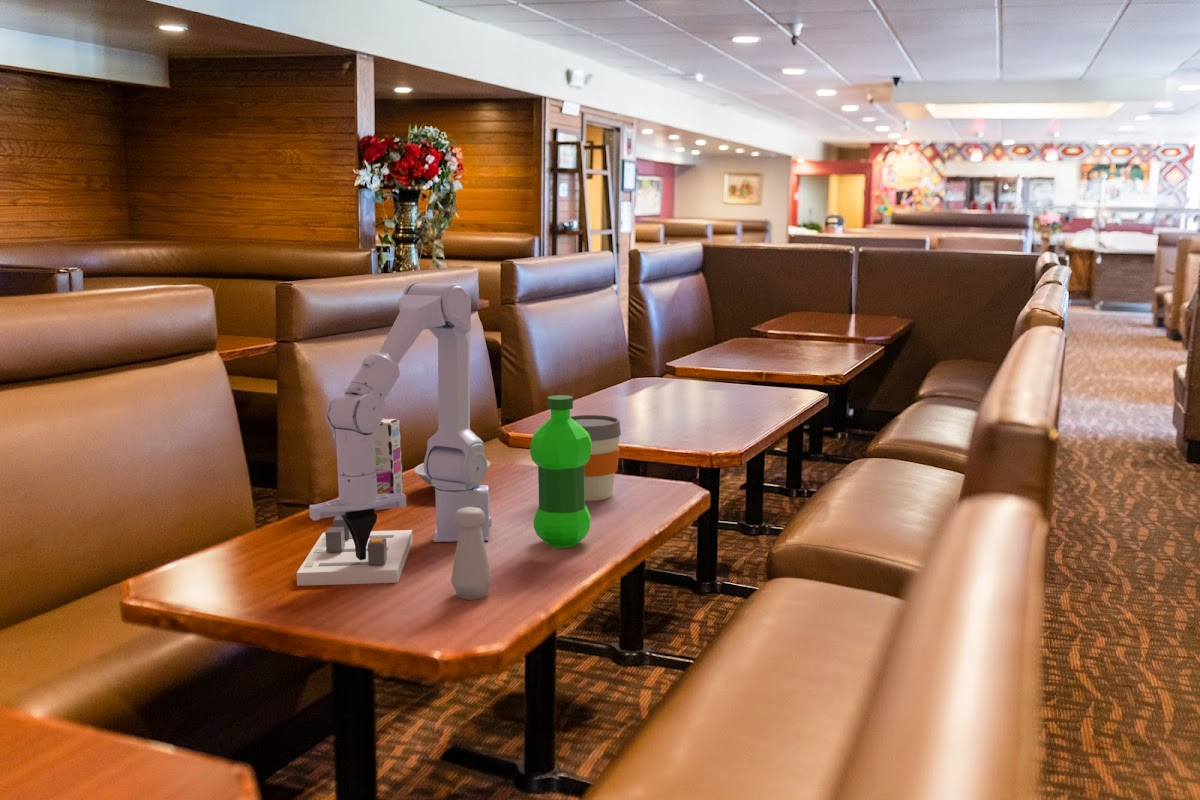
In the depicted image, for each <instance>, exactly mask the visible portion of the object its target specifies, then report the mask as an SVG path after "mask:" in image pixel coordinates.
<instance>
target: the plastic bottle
mask: <svg viewBox="0 0 1200 800" xmlns="http://www.w3.org/2000/svg"><path fill="white" fill-rule="evenodd" d="M573 409H574V396H571V395H564V394H559V395H550V396H547V410H550V416H551V417H550V418H549V419H548V420H546V422H544V423H543V424H542V425H541V426H540V427H539V428H538V429H536V430H535V432H534V433H533V435H532V438H531V441H530V444H529V452H530V458H531V460H532V462H533V463H535V465H536V466H537V467H538V469H537V471H538V472H537V475H538V477H537V478H538V481H537V482H538V507H537V509H536V513H535V514H534V518H533V529H534V531H535V534H536V535H537V537H539V538H540V539H541V540H542V541H543V542H545V544H546V545H547V546H549V547H551V548H557V549H558V548H559V549H566V548H573V547H575V546H577V545H578V544H579V543H580V542H581V541H582V540H583V539H584V538H585V537H586V536H587V535H588V533H589V531H590V528H591V514H590V511H589V509H588V507H587V505H586V501H585V482H584V465H585V464H586V463H587V462H588V461H589V459H590V454H591V448H592V446H591V438H590V435H589V433H588V432H587V431H586V430H585V429H584V428H583V427H582V426H580V425H579V424H578V423H577V422H576V421H574V420H573V419H572V418H571V417H570V416H571V410H573Z"/></svg>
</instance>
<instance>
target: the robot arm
mask: <svg viewBox="0 0 1200 800" xmlns="http://www.w3.org/2000/svg"><path fill="white" fill-rule="evenodd" d="M471 297H472V296H471V295H470V293H469V292H468V291H467V290H466V289H465V288H464V286H463V285H461V284H460V283H451V284H450V283H449V284H447V283H420V282H411V283H409V284H408V285H407V286H406V287H405V288H404V290H403V293H402V295H401V296H400V298H398V311H399V313H398V315H397V316H396V319H395V320H394V323H393V325H391V328H390V331H389V332H388V334H387V336H386V338H385V340H384V342H383V344H382V346H381V347H380V350H379V351H378V352H377V353H373V354H369V355H367V356H366V357H365V358H364V359H363V360H362V362H361V364H362V365H361V366H360V368H358V371H357V372H356V374H355V375H354V377H353V378H352V380H351V382H350V383H349V385H348V386H347V387H346V389H345V390H344V392H342V393H339V394H337V395H336V396H335V397H333V398H332V400H331V401H330V402H329V404H328V407H327V413H326V414H325V419H326V422H327V425H328V426H329V428H330V430H331V432H332V439H333V440H334V442H335V444H336V459H337V460H336V462H337V463H336V465H337V482H338V484H337V485H338V498H336V499H333V500H329V501H325V502H322V503H321V502H320V503H316V504H315V503H314V504H310V505H309V518H310V519H311V520H312V521H320V520H321V519H325V518H331V517H332V518H333V517H336V516H340V515H341V516H342V518H343V520H344V522H345V523H346V525H347V527H348V529H349V531H350V533H351V536H352V538H353V541H354V544H355V553H356V557H357V558H358V559H359V560H364V559H366V546H367V542H368V539H369V536H370V533H371V531H373V529H374V527H375V525H376V523H377V520H378V514H376V513H375V511H379V510H386V509H394V508H399V509H400V508H402V509H403V508H407V495H406V494H405V493H404V492H403V493H392V494H377V478H376V456H375V434H374V431H375V430H376V429H377V428H378V426H379V425H380V424H381V421H382V418H384V416H383V415H384V414H383V413H384V412H383V411H384V409H385V407H386V406H385V405H386V401H385V400H386V399H387V398H388V396H389V394H390V393H391V391H392V389H393V387H394V385H395V383H396V382H397V380H398V379H399V378H400V374H401V371H400V367H399V364H400V362H401V361H402V359H403V358H404V357H405V355H406V354H407V352H408V351H409V350H410V348H411V347H412V346H413V344H414V343H415V341H416V340H417V339H418V338H419V337H420V335H421V333H422V332H423V331H425V330H429V331H430V333H431V334H433V335H434V336H435V338H436V339H437V368H438V369H437V378H438V379H437V385H438V386H437V389H438V390H437V392H438V393H437V407H438V408H437V409H438V410H437V411H438V412H437V414H438V415H437V418H438V419H437V420H438V421H437V422H438V423H437V424H438V425H437V427H438V428H437V431H436V432H435V433H434V434H433V435H432V436H431V437H429V438H428V439H427V442H426V444H427V445H426V448H427V449H426V453H425V456H424V459H423V463H424V471H425V474H426V476H427V478H428V479H430V480H431V485H432V486H431V485H430V486H431V487H433V486H435V487H434V490H435V491H434V492H435V493H434V494H435V521H436V527H435V531H434V534H433V537H432V542H433V543H443V542H444V543H445V542H449V543H451V542H458V536H459V530H460V527H458V526H457V525H456V524H455V513H456V512H457V511H458V510H459V509H461V508H465V507H476V508H480V509H481V510H482V511H483V512H484V515H485V522H484V524H483V525H481V529H482V534H483V539H484V542H486V541H489V540H490V533H491V528H492V522H493V521H492V516H491V515H490V514H491V513H490V512H491V511H490V510H491V509H490V505H491V504H490V486H489V485H487V484H482V482H483V481H484V479H485V477H486V475H487V471H488V468H487V461H486V460H487V457H486V454H485V449H484V441H483V440H482V439H481V437H479V436H477V435H476V433H475V432H473V431H472V430H471V331H472V322H471V321H472V298H471Z"/></svg>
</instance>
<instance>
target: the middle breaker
mask: <svg viewBox="0 0 1200 800" xmlns="http://www.w3.org/2000/svg"><path fill="white" fill-rule="evenodd" d="M325 535H326V552H342V550H343V549H344V547H345V537H344V527H334V526H328V528H327V530H325Z"/></svg>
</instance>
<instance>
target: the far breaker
mask: <svg viewBox="0 0 1200 800" xmlns="http://www.w3.org/2000/svg"><path fill="white" fill-rule="evenodd" d="M332 523H333V527H344V537H345V539H349V538H350V536H351V533H350V531H349V529H348V527H347V525H346V523H345V522H344V520H343V518H342V516H341V515H340V516H334V518H333V521H332Z"/></svg>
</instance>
